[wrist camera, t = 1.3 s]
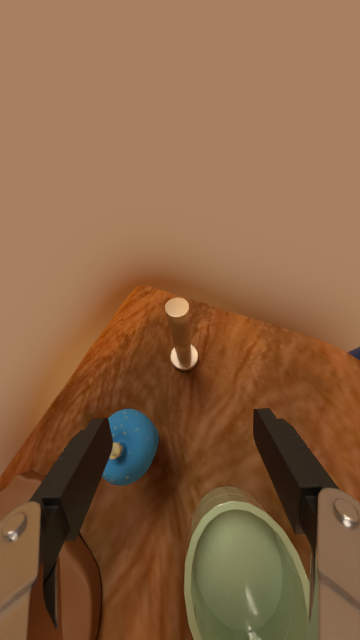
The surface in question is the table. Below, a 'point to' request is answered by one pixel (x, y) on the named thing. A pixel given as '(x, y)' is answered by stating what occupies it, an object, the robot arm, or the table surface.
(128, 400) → the table surface
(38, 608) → the robot arm
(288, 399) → the table surface
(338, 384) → the table surface
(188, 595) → the bowl
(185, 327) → the stick
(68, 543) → the plant
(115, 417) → the ornament
